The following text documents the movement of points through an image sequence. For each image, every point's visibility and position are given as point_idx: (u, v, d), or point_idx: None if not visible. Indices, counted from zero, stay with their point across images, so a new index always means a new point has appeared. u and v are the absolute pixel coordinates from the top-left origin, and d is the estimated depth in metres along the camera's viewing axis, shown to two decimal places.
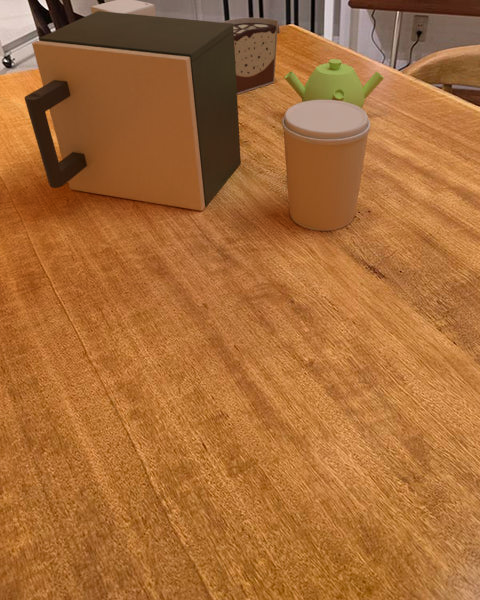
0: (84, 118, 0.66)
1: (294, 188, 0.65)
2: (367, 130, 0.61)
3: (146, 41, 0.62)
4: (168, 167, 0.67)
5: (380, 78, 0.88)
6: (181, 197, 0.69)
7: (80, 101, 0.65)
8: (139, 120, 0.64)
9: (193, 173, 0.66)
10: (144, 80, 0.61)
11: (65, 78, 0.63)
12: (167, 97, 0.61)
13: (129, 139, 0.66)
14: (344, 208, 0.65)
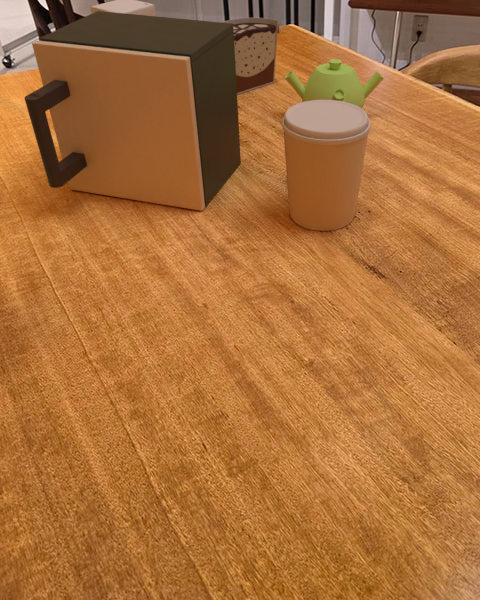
0: (84, 118, 0.66)
1: (294, 188, 0.65)
2: (367, 130, 0.61)
3: (146, 41, 0.62)
4: (168, 167, 0.67)
5: (380, 78, 0.88)
6: (181, 197, 0.69)
7: (80, 101, 0.65)
8: (139, 120, 0.64)
9: (193, 173, 0.66)
10: (144, 80, 0.61)
11: (65, 78, 0.63)
12: (167, 97, 0.61)
13: (129, 139, 0.66)
14: (344, 208, 0.65)
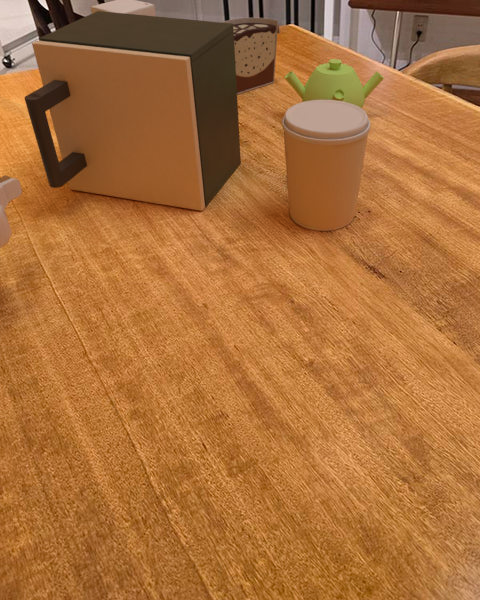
0: (84, 118, 0.66)
1: (294, 188, 0.65)
2: (367, 130, 0.61)
3: (146, 41, 0.62)
4: (168, 167, 0.67)
5: (380, 78, 0.88)
6: (181, 197, 0.69)
7: (80, 101, 0.65)
8: (139, 120, 0.64)
9: (193, 173, 0.66)
10: (144, 80, 0.61)
11: (65, 78, 0.63)
12: (167, 97, 0.61)
13: (129, 139, 0.66)
14: (344, 208, 0.65)
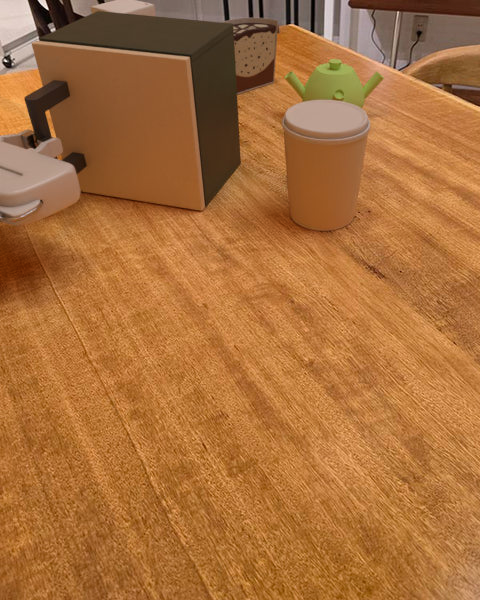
0: (84, 118, 0.66)
1: (294, 188, 0.65)
2: (367, 130, 0.61)
3: (146, 41, 0.62)
4: (168, 167, 0.67)
5: (380, 78, 0.88)
6: (181, 197, 0.69)
7: (79, 101, 0.65)
8: (139, 120, 0.64)
9: (193, 173, 0.66)
10: (144, 80, 0.61)
11: (65, 78, 0.63)
12: (167, 97, 0.61)
13: (129, 139, 0.66)
14: (344, 208, 0.65)
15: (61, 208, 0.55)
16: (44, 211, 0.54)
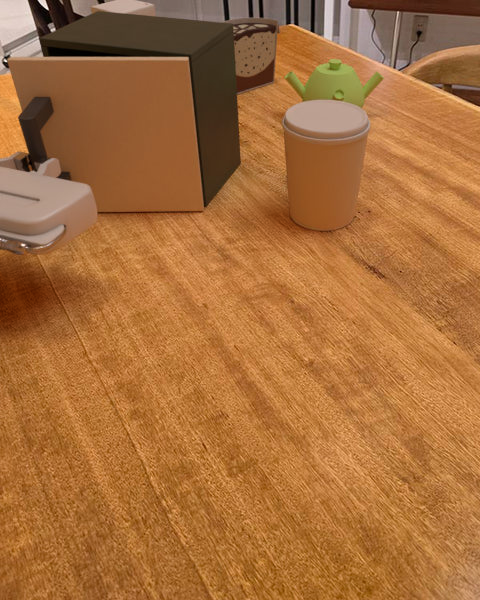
0: (70, 134, 0.63)
1: (294, 188, 0.65)
2: (367, 130, 0.61)
3: (146, 41, 0.62)
4: (167, 172, 0.66)
5: (380, 78, 0.88)
6: (181, 200, 0.68)
7: (65, 116, 0.61)
8: (134, 128, 0.63)
9: (194, 174, 0.66)
10: (140, 85, 0.60)
11: (47, 93, 0.60)
12: (167, 100, 0.61)
13: (123, 149, 0.64)
14: (344, 208, 0.65)
15: (82, 231, 0.52)
16: (67, 236, 0.51)
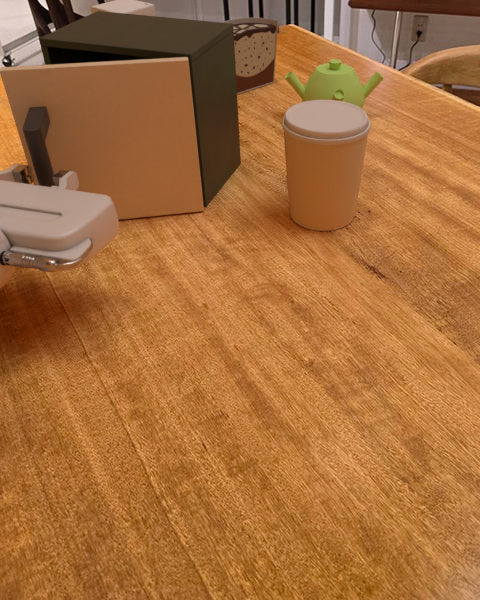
0: (67, 143, 0.61)
1: (294, 188, 0.65)
2: (367, 130, 0.61)
3: (146, 41, 0.62)
4: (168, 174, 0.66)
5: (380, 78, 0.88)
6: (181, 202, 0.68)
7: (62, 125, 0.60)
8: (134, 132, 0.62)
9: (195, 174, 0.66)
10: (141, 89, 0.59)
11: (43, 103, 0.58)
12: (167, 102, 0.61)
13: (122, 155, 0.63)
14: (344, 208, 0.65)
15: (106, 244, 0.51)
16: (92, 250, 0.49)
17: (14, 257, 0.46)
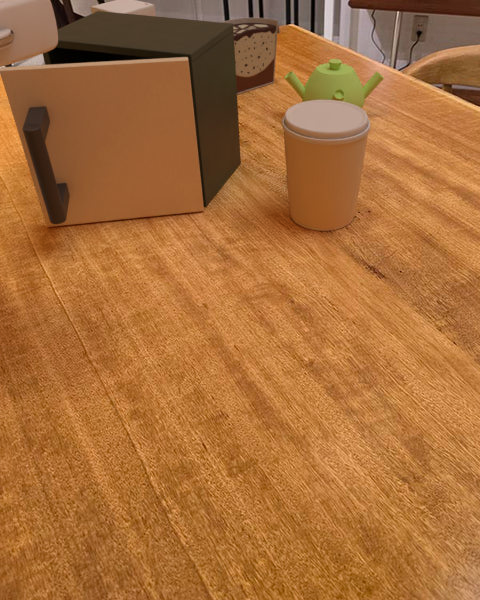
0: (67, 143, 0.61)
1: (294, 188, 0.65)
2: (367, 130, 0.61)
3: (146, 41, 0.62)
4: (168, 174, 0.66)
5: (380, 78, 0.88)
6: (181, 202, 0.68)
7: (62, 125, 0.60)
8: (134, 132, 0.62)
9: (195, 174, 0.66)
10: (141, 89, 0.59)
11: (43, 103, 0.58)
12: (167, 102, 0.61)
13: (122, 155, 0.63)
14: (344, 208, 0.65)
15: (37, 51, 0.39)
16: (15, 50, 0.37)
17: None
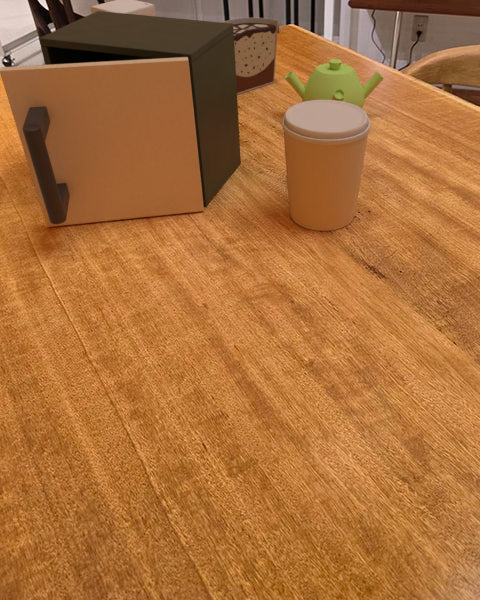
0: (67, 143, 0.61)
1: (294, 188, 0.65)
2: (367, 130, 0.61)
3: (146, 41, 0.62)
4: (168, 174, 0.66)
5: (380, 78, 0.88)
6: (181, 202, 0.68)
7: (62, 125, 0.60)
8: (134, 132, 0.62)
9: (195, 174, 0.66)
10: (141, 89, 0.59)
11: (43, 103, 0.58)
12: (167, 102, 0.61)
13: (122, 155, 0.63)
14: (344, 208, 0.65)
15: None
16: None
17: None
